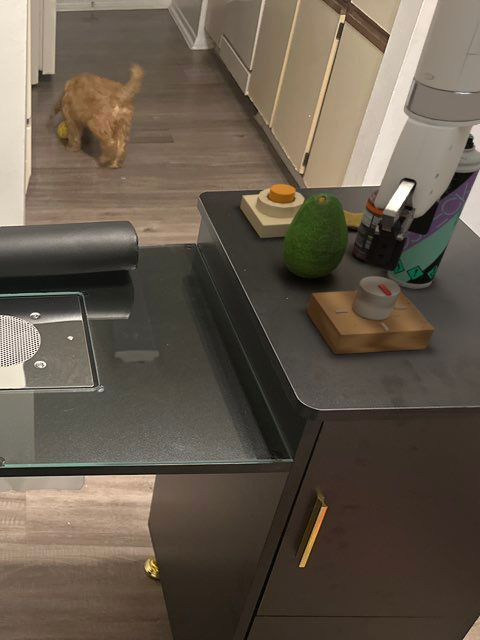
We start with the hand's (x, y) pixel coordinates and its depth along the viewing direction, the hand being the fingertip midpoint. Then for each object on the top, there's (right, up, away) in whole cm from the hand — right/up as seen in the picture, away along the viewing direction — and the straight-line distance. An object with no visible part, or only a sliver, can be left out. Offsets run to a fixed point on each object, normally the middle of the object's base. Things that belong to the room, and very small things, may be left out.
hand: (396, 248), depth 84 cm
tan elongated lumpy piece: (+11, +8, +26) cm, 29 cm away
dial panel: (0, -9, +7) cm, 12 cm away
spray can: (+11, -1, +16) cm, 19 cm away
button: (-2, +13, +27) cm, 30 cm away
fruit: (-2, -1, +17) cm, 18 cm away
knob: (0, -7, +5) cm, 8 cm away
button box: (-1, +10, +29) cm, 31 cm away
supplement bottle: (+9, +3, +21) cm, 23 cm away
